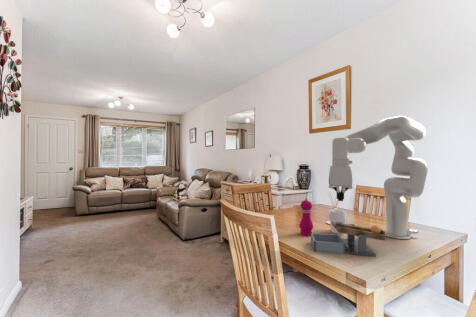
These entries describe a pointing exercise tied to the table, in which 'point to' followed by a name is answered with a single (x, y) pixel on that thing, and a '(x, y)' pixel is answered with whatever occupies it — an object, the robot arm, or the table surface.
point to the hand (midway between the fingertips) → (340, 200)
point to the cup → (337, 218)
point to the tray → (358, 230)
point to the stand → (358, 245)
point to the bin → (327, 243)
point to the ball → (376, 229)
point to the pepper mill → (306, 218)
